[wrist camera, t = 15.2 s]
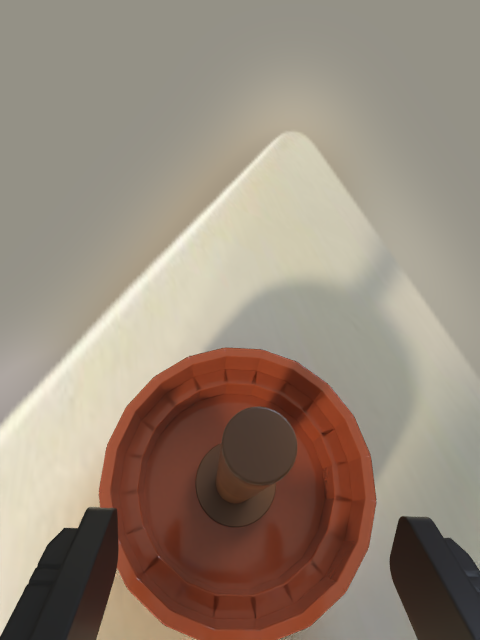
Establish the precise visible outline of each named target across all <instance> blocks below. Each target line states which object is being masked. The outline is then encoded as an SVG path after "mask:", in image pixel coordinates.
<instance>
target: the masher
mask: <svg viewBox="0 0 480 640" xmlns="http://www.w3.org/2000/svg"><path fill="white" fill-rule="evenodd" d="M296 456H297V439H296V435H295V432H294V430H293V428H292V426H291V424H290V423H289V422H288V420H287V419H286V418H285V417H284V416H283V415H281V414H280V413H279V412H277V411H275V410H273V409H270V408H267V407H260V406H258V407H250V408H246V409H244V410H242V411H240V412H238V413H237V414H236V415H234V416H233V417H232V418H231V419H230V421H229V422H228V424H227V425H226V427H225V430H224V432H223V436H222V442H221V443H220V444H218V445H216V446H215V447H213V448H212V449H211V450H210V451H209V452H208V453H207V454H206V455H205V456H204V458H203V459H202V461H201V463H200V465H199V467H198V470H197V474H196V480H195V487H196V494H197V498H198V500H199V503H200V505H201V507H202V509H203V510H204V511H205V513H206V514H207V515H208V516H209V517H210V518H211V519H212V520H214V521H215V522H217V523H219V524H221V525H224V526H228V527H244V526H247V525H250V524H252V523H254V522H256V521H257V520H259V519H260V518H261V517H262V516H263V515H264V514H265V513H266V512H267V511H268V509H269V508H270V506H271V504H272V502H273V499H274V496H275V491H276V482H277V481H279V480H280V479H282V478H283V477H284V476H286V475H287V474H288V472H289V471H290V470H291V468H292V467H293V465H294V462H295V460H296Z"/></svg>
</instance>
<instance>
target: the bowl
mask: <svg viewBox="0 0 480 640" xmlns="http://www.w3.org/2000/svg"><path fill="white" fill-rule="evenodd" d="M258 406H260V407H267V408H270V409H273V410H275V411H277V412H279V413H280V414H281V415H283V416H284V417H285V418H286V419H287V420H288V422H289V423H290V424H291V426H292V428H293V430H294V432H295V435H296V439H297V456H296V460H295V462H294V465H293V467H292V468H291V470H290V471H289V472H288V474H287V475H286V476H284V477H283V478H282V479H280V480H279V481H277V482H276V491H275V496H274V499H273V502H272V504H271V506H270V508H269V509H268V511H267V512H266V513H265V514H264V515H263V516H262V517H261V518H260V519H259V520H257V521H256V522H254V523H252V524H250V525H247V526H244V527H228V526H224V525H221V524H219V523H217V522H215V521H214V520H212V519H211V518H210V517H209V516H208V515H207V514H206V513H205V511H204V510H203V509H202V507H201V505H200V503H199V500H198V498H197V494H196V487H195V480H196V474H197V470H198V467H199V465H200V463H201V461H202V459H203V458H204V456H205V455H206V454H207V453H208V452H209V451H210V450H211V449H212V448H213V447H215V446H216V445H218V444H220V443H221V442H222V436H223V432H224V430H225V427H226V425H227V424H228V422H229V421H230V419H231V418H232V417H233V416H234V415H236V414H237V413H238V412H240V411H242V410H244V409H246V408H250V407H258ZM99 492H100V493H99V500H100V508H116V509H117V516H118V548H119V552H118V562H117V569H118V571H119V573H120V575H121V577H122V579H123V581H124V583H125V586H126V587H127V589H128V590H129V591H130V592H131V593H132V594H133V595H134V596H135V597H136V598H137V599H138V600H139V601H140V602H141V603H142V604H143V605H144V606H145V607H146V608H147V609H148V610H149V611H150V612H151V613H152V614H153V615H154V616H155V617H156V618H157V619H158V620H159V621H160V622H161V623H162V624H164V625H165V626H167V627H169V628H172V629H174V630H176V631H178V632H181V633H183V634H185V635H188V636H190V637H192V638H195V639H197V640H278V639H281V638H283V637H286V636H288V635H291V634H293V633H296V632H298V631H301V630H303V629H306V628H308V627H310V626H311V625H312V624H313V623H314V622H315V621H316V620H317V619H319V618H320V617H321V616H322V615H323V614H324V613H325V612H326V611H327V610H328V609H329V608H330V607H331V606H332V605H333V604H334V603H335V602H337V601H338V600H339V599H340V598H341V597H342V596H343V595H344V594H345V593H346V591H347V589H348V587H349V585H350V583H351V582H352V580H353V578H354V576H355V574H356V572H357V570H358V568H359V566H360V564H361V562H362V560H363V558H364V556H365V554H366V552H367V550H368V548H369V543H370V537H371V531H372V525H373V519H374V513H375V507H376V493H375V485H374V477H373V469H372V461H371V456H370V453H369V450H368V448H367V446H366V443H365V441H364V439H363V436H362V434H361V431H360V429H359V427H358V424H357V422H356V420H355V417H354V416H353V414H352V413H351V412H350V410H349V409H348V408H347V407H346V405H345V404H344V403H343V402H342V400H341V399H340V398H339V397H338V395H337V394H336V393H335V392H334V390H333V389H332V388H331V387H330V385H328V384H327V383H326V382H325V381H323V380H322V379H320V378H319V377H318V376H316V375H315V374H313V373H312V372H311V371H309V370H308V369H306V368H305V367H304V366H302V365H301V364H299V363H298V362H296V361H293V360H290V359H288V358H285V357H282V356H279V355H276V354H273V353H270V352H268V351H265V350H261V349H243V348H221V349H217V350H213V351H209V352H205V353H201V354H197V355H193V356H189V357H187V358H185V359H183V360H182V361H180V362H178V363H176V364H175V365H173V366H171V367H170V368H168V369H166V370H165V371H163V372H161V373H159V374H158V375H156V376H155V377H153V379H152V380H151V381H150V382H149V383H148V384H147V385H146V386H145V387H144V388H143V389H142V390H141V391H140V392H139V394H138V395H137V396H136V397H135V398H134V399H133V400H132V401H131V402H130V403H129V404H128V405H127V407H126V408H125V410H124V412H123V414H122V416H121V418H120V420H119V422H118V424H117V426H116V428H115V430H114V432H113V434H112V436H111V438H110V440H109V442H108V444H107V447H106V453H105V459H104V464H103V470H102V476H101V481H100V487H99Z"/></svg>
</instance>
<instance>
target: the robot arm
mask: <svg viewBox="0 0 480 640" xmlns="http://www.w3.org/2000/svg"><path fill="white" fill-rule="evenodd" d="M118 552H119V548H118V516H117V509H116V508H96V507H89V508H88V509H87V510H86V512H85V514H84V516H83V518H82V520H81V523H80V525H79V527H78V528H64V529H63V530H62V531H61V532H60V533H59V534H58V535H57V536H56V537H55V538H54V539H53V540H52V541H51V542H50V543H49V544H48V545H47V547H46V549H45V551H44V553H43V555H42V557H41V559H40V561H39V563H38V566H37V568H35V570H34V572H33V574H32V576H31V578H30V580H29V584H28V585H27V586H26V588H25V590H24V592H23V594H22V596H21V598H20V600H19V601H18V603H17V605H16V607H15V609H14V611H13V613H12V615H11V617H10V619H9V621H8V623H7V625H6V627H5V629H4V631H3V633H2V634H1V636H0V640H96V638H97V635H98V631H99V628H100V625H101V621H102V618H103V614H104V611H105V608H106V604H107V601H108V598H109V594H110V591H111V587H112V584H113V581H114V577H115V573H116V569H117V562H118ZM390 571H391V576H392V579H393V582H394V585H395V587H396V589H397V592H398V594H399V596H400V599H401V601H402V603H403V606H404V608H405V610H406V613H407V615H408V617H409V620H410V622H411V624H412V627H413V629H414V631H415V634H416V636H417V638H418V640H480V571H479V569H478V568H477V566H476V565H475V563H474V562H473V560H472V559H471V557H470V556H469V554H468V553H466V552H465V551H464V550H463V549H462V548H461V547H460V546H459V545H458V544H457V543H455V542H454V541H453V540H452V539H451V538H443V536H442V535H441V533H440V531H439V530H438V528H437V527H436V525H435V524H434V522H433V521H432V520H431V519H430V518H428V517H407V516H402V517H401V518H400V519H399V521H398V525H397V529H396V534H395V538H394V542H393V546H392V550H391V555H390Z"/></svg>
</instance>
